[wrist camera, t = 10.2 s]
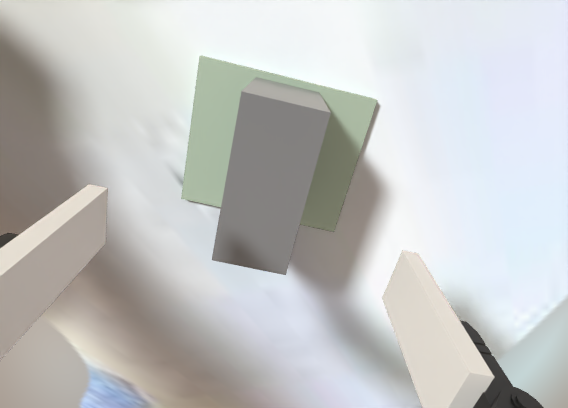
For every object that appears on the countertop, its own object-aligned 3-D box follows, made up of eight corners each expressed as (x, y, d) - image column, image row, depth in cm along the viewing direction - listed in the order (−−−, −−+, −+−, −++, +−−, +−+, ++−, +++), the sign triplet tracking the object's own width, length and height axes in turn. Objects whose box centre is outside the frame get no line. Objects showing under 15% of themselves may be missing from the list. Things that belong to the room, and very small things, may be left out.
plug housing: (231, 204, 32) (211, 260, 24) (256, 77, 28) (241, 91, 20) (286, 216, 33) (285, 274, 24) (319, 92, 28) (330, 112, 20)
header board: (183, 196, 33) (162, 224, 27) (201, 55, 28) (181, 58, 23) (333, 228, 34) (340, 262, 29) (375, 99, 29) (394, 111, 24)
